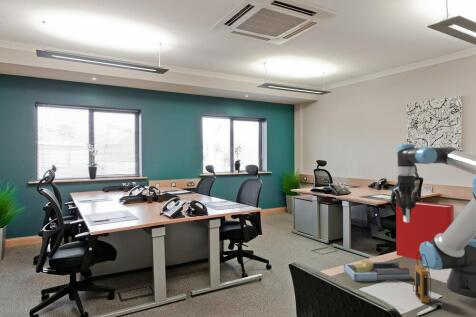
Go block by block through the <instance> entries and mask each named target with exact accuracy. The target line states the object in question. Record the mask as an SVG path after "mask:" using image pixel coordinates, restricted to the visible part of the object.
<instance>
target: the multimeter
mask: <svg viewBox="0 0 476 317" xmlns="http://www.w3.org/2000/svg"><path fill="white" fill-rule="evenodd" d="M418 253H420V252H419V250H418ZM420 255H421V254H420ZM422 255H424V254H422ZM417 256H418V254H417ZM424 257H425V255H424ZM425 259H426V257H425ZM426 262H427V260H426ZM427 266H428V263H427ZM427 266H426V267H427ZM431 290H432V278H431V273H430V268H429V267H427V268H425V267H424V262H423V261H421V260H420V264H418V262H416V264H415V265H414V284H413V286H412V291H413V292H414V293H415V297H417V299H419V301H420V302H421V303H426V304H428V303H429V306H430V307H431V308H433V306H432V304H431V302H432V301H430V299H432V300H436V301H438V302H440V304H441V306H442V304H443V303H445V304H447V302H446V301H443V300H441V299H438V298H433V297H431V293H432V292H431ZM439 308H440V307H438V306H437V307H436V309H439Z"/></svg>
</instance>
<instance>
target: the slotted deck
mask: <svg viewBox="0 0 476 317" xmlns="http://www.w3.org/2000/svg"><path fill="white" fill-rule="evenodd" d="M372 262H373V267H374V272H369V273H377V281H390V280H391V281H393V280H395V281H397V280H399V281H401V280H411V273H410V272H411V271H410V268H408V267H400V263H399V261H375V262H374V261H372Z"/></svg>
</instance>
